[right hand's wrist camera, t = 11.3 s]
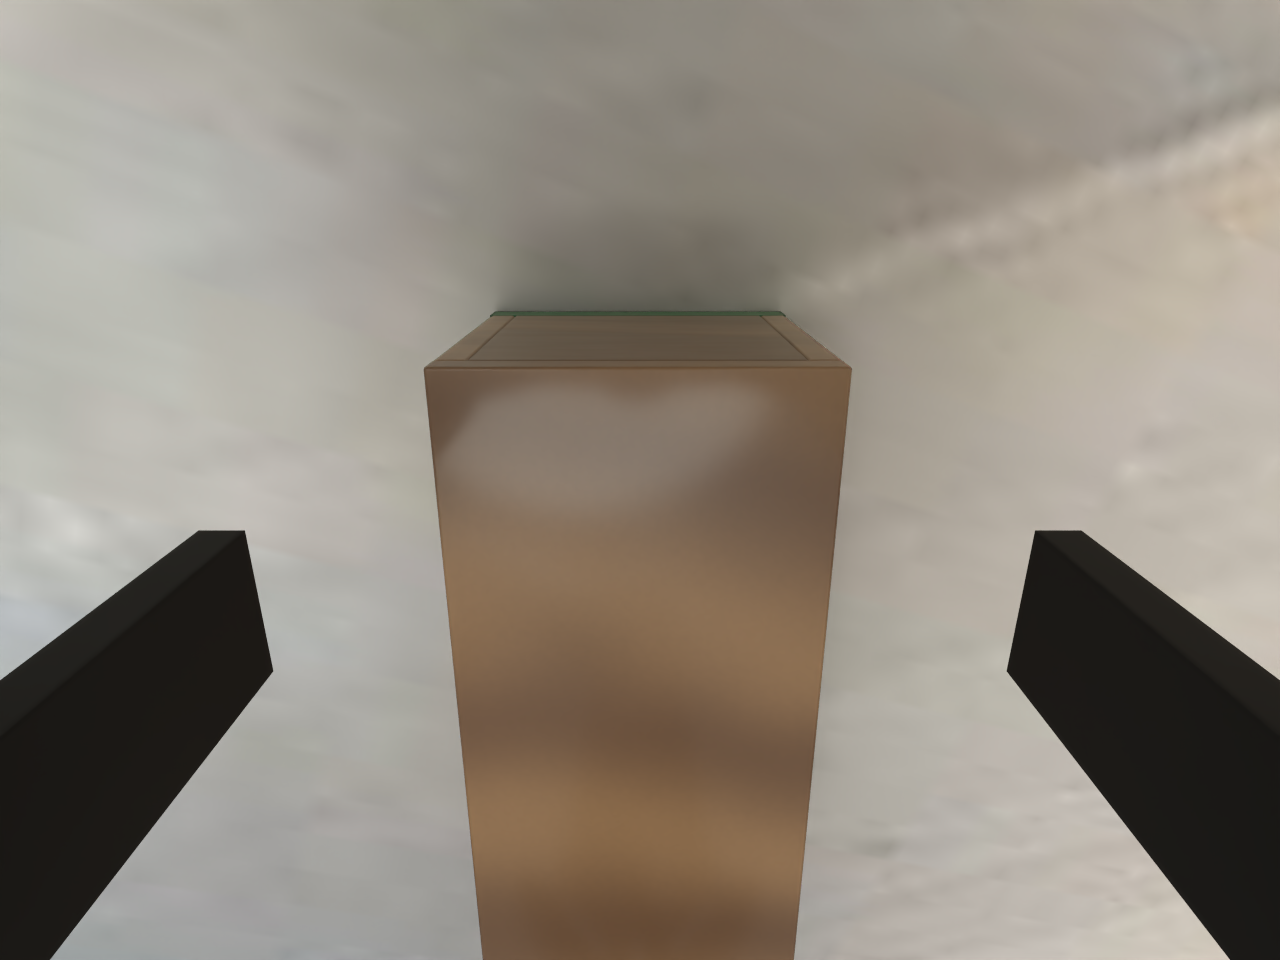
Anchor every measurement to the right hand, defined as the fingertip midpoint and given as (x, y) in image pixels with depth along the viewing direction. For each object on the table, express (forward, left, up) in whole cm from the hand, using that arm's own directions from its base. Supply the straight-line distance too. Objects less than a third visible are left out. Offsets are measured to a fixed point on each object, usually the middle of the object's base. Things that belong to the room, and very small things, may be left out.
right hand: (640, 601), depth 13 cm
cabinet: (+5, +5, -15) cm, 17 cm away
